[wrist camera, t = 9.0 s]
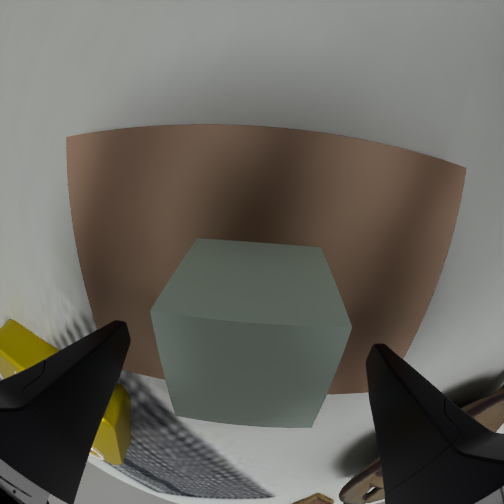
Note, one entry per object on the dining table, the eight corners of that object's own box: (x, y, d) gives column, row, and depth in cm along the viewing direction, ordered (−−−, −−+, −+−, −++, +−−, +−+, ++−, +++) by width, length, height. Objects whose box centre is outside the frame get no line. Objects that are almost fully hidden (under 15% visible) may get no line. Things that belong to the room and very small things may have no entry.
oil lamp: (296, 449, 21) (296, 515, 14) (549, 298, 13) (588, 341, 6) (358, 483, 28) (362, 521, 21) (521, 393, 20) (538, 425, 13)
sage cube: (320, 247, 11) (352, 327, 6) (302, 340, 13) (311, 427, 8) (197, 238, 11) (149, 310, 6) (201, 332, 13) (175, 415, 8)
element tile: (131, 382, 18) (110, 428, 14) (132, 442, 25) (121, 472, 20) (6, 309, 17) (-22, 337, 13) (35, 389, 23) (20, 413, 19)
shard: (317, 490, 30) (317, 498, 28) (354, 488, 30) (355, 496, 29) (288, 502, 34) (288, 509, 32) (322, 502, 35) (322, 509, 33)
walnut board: (448, 163, 10) (466, 168, 9) (379, 374, 16) (384, 390, 14) (84, 135, 11) (66, 137, 9) (119, 351, 16) (111, 366, 15)
